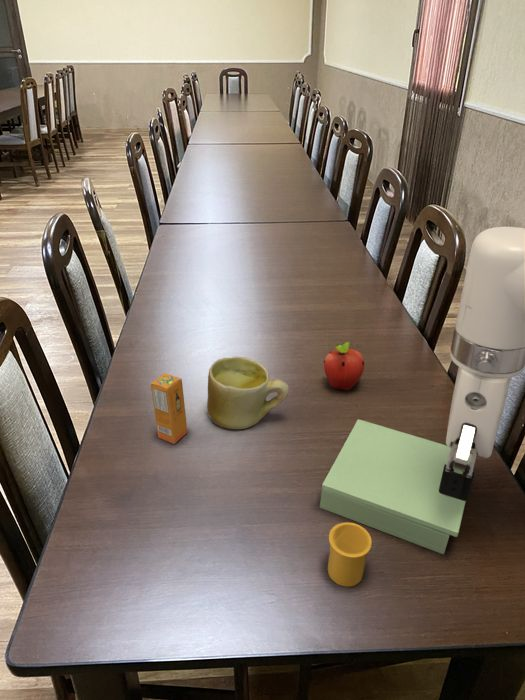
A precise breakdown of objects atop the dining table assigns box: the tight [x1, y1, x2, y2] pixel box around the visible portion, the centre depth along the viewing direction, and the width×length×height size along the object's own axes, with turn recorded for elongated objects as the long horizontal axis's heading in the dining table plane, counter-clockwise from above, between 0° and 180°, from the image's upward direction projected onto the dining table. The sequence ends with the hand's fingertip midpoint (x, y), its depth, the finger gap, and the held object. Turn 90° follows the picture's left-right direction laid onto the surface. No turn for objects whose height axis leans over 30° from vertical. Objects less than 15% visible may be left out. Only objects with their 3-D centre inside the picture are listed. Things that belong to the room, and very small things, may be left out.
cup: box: [327, 522, 373, 587], centre depth 59 cm, size 5×5×5 cm
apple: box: [323, 341, 365, 391], centre depth 89 cm, size 8×7×10 cm
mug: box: [206, 356, 290, 430], centre depth 82 cm, size 12×10×10 cm
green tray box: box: [319, 488, 451, 555], centre depth 71 cm, size 16×15×3 cm
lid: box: [321, 419, 472, 538], centre depth 68 cm, size 16×15×5 cm
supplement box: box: [150, 373, 188, 445], centre depth 78 cm, size 3×3×10 cm
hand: (459, 468), depth 65 cm, fingers open, 9 cm apart
